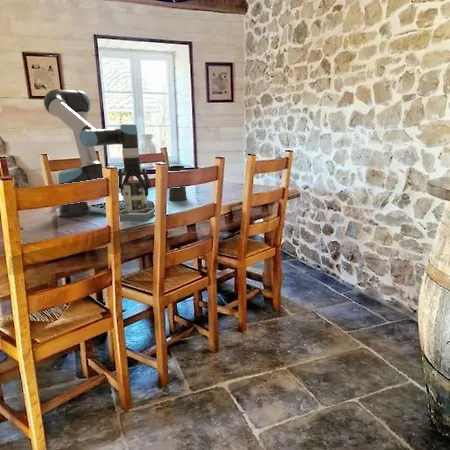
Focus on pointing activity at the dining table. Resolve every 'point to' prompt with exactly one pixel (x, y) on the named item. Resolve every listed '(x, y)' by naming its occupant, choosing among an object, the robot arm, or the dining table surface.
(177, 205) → the dining table surface
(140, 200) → the coffee can
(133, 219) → the holder tray
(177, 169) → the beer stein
